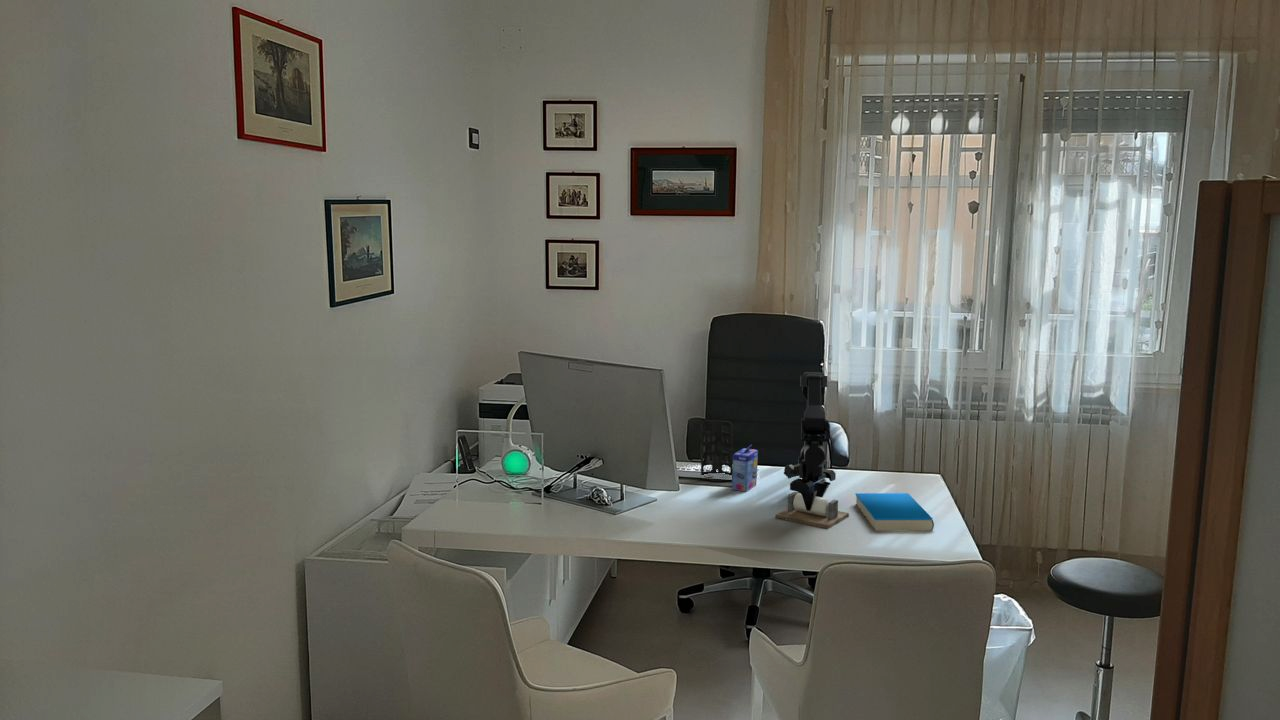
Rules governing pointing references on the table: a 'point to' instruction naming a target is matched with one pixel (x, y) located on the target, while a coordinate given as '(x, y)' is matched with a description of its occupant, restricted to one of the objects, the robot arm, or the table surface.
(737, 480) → the blue purple upright box
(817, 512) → the cylinder
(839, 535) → the table surface
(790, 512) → the roll holder
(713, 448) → the holder
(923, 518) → the book
